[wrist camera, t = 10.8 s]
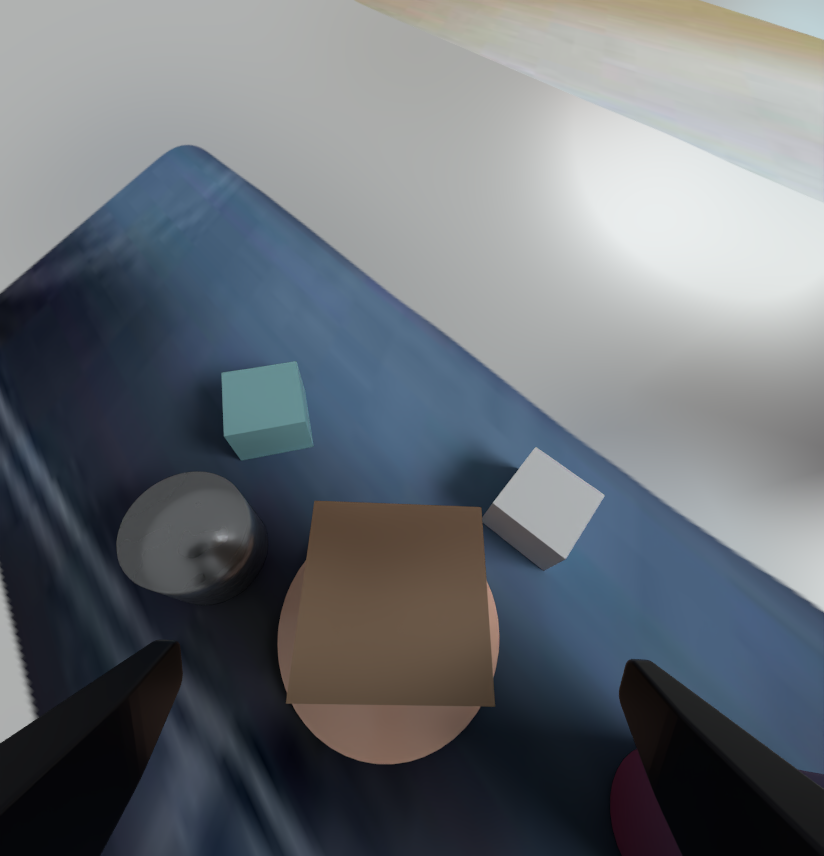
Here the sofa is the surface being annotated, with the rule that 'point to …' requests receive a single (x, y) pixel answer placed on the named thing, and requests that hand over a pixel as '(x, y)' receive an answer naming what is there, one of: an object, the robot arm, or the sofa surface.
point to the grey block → (543, 510)
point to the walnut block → (393, 608)
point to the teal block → (265, 410)
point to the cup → (645, 812)
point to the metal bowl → (192, 539)
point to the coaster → (376, 706)
